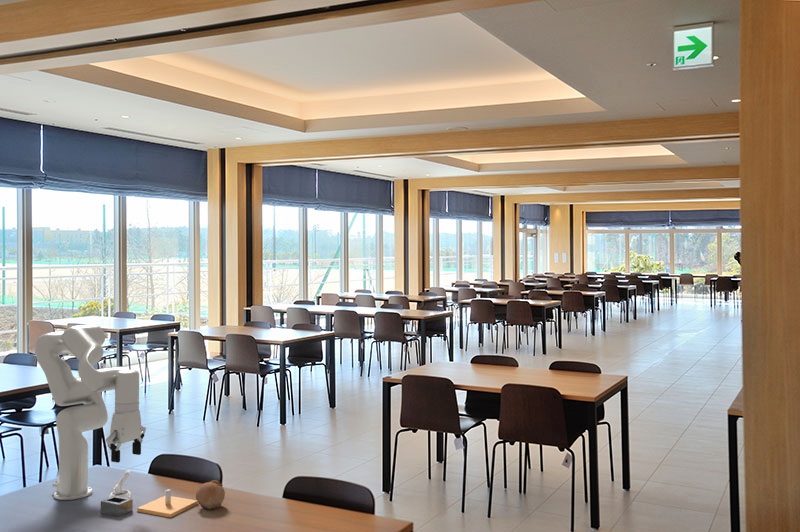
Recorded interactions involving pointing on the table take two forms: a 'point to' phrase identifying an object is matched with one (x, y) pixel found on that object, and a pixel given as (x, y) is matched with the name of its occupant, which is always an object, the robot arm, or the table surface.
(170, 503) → the wooden peg base
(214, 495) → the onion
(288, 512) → the table surface
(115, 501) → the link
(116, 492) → the hook
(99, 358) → the robot arm
